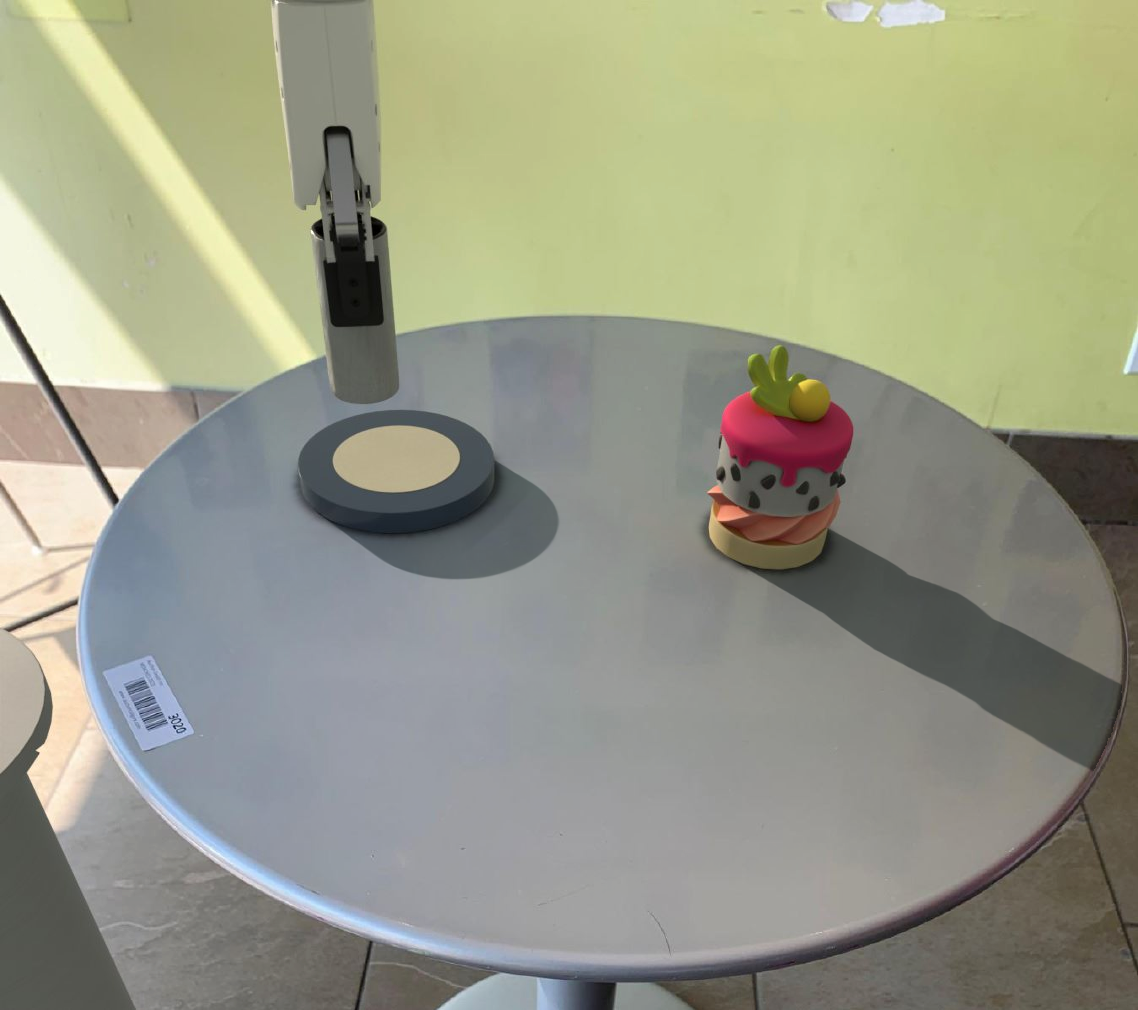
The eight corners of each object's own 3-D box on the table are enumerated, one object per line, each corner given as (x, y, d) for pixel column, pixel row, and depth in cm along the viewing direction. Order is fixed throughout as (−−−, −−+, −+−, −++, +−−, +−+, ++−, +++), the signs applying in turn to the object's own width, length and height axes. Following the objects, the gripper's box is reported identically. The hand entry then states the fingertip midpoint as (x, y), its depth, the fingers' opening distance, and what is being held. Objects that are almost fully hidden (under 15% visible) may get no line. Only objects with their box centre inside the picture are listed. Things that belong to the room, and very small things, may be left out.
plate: (303, 541, 91) (299, 520, 90) (298, 435, 103) (295, 415, 101) (507, 525, 94) (507, 504, 92) (480, 423, 105) (480, 403, 104)
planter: (413, 383, 74) (401, 223, 67) (373, 412, 71) (357, 248, 64) (357, 366, 76) (340, 207, 68) (316, 393, 73) (294, 231, 65)
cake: (845, 523, 96) (887, 357, 85) (802, 587, 89) (841, 416, 78) (733, 488, 99) (760, 324, 88) (684, 546, 93) (706, 377, 82)
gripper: (248, -82, 62) (295, 253, 75) (237, -9, 50) (295, 372, 63) (384, -81, 63) (406, 249, 76) (404, -9, 51) (427, 366, 64)
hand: (355, 302), depth 69 cm, fingers closed on planter, 4 cm apart
